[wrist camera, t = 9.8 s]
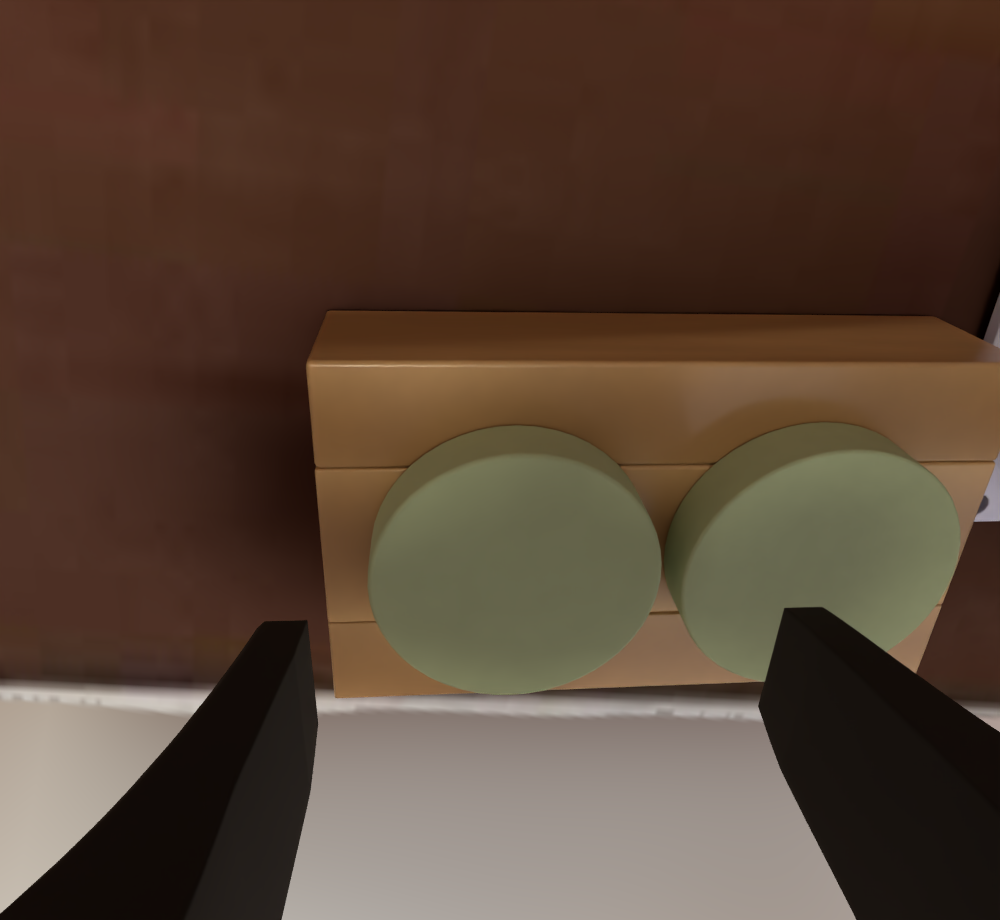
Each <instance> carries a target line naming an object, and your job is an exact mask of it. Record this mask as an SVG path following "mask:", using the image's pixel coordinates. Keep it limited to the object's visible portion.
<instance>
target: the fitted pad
mask: <svg viewBox="0 0 1000 920" xmlns="http://www.w3.org/2000/svg"><path fill="white" fill-rule="evenodd" d="M959 550H960V524H959V518H958V513H957V511H956V508H955V505H954V502H953V500H952V498H951V496H950V494H949V493H948V491H947V489H946V488H945V486H944V485H943V484H942V483H941V482H940V481H939V480H938V478H937V477H936V476H935V475H934V474H932V473H931V472H930V471H929V470H927V469H926V468H925V467H924V466H922V465H921V464H920V463H918V462H917V461H916V460H915V459H913V458H912V457H911V456H910V455H908V454H907V453H906V452H905V451H903V450H902V449H901V448H900V447H898V446H897V445H896V444H894V443H893V442H892V441H891V440H889V439H888V438H886V437H884V436H882V435H880V434H878V433H877V432H874V431H871V430H869V429H866V428H863V427H860V426H855V425H850V424H845V423H830V422H819V423H805V424H800V425H794V426H789V427H785V428H782V429H779V430H775V431H772V432H769V433H767V434H764V435H762V436H760V437H757V438H755V439H753V440H751V441H749V442H747V443H745V444H743V445H742V446H740V447H738V448H736V449H735V450H733V451H732V452H730V453H729V454H727V455H726V456H725V457H723V458H722V459H720V460H719V461H718V462H717V463H716V464H714V465H713V466H712V467H711V468H710V469H709V470H708V471H707V472H705V473H704V475H703V476H702V477H701V478H700V479H699V480H698V481H697V482H696V483H695V484H694V486H693V487H692V488H691V490H690V491H689V492H688V494H687V495H686V497H685V498H684V499H683V501H682V503H681V504H680V506H679V508H678V510H677V512H676V514H675V516H674V518H673V521H672V523H671V526H670V528H669V532H668V536H667V540H666V544H665V552H664V571H665V578H666V582H667V586H668V589H669V591H670V594H671V596H672V598H673V601H674V603H675V605H676V607H677V609H678V611H679V613H680V616H681V618H682V620H683V622H684V624H685V626H686V628H687V630H688V633H689V635H690V636H691V638H692V639H693V641H694V642H695V644H696V645H697V647H698V648H699V649H700V650H701V651H702V652H703V653H704V654H705V655H706V656H707V657H708V658H709V659H711V660H712V661H713V662H715V663H716V664H717V665H719V666H720V667H722V668H724V669H726V670H728V671H729V672H731V673H734V674H737V675H739V676H742V677H744V678H748V679H752V680H757V681H762V682H765V679H766V675H767V671H768V668H769V664H770V660H771V656H772V652H773V649H774V645H775V641H776V637H777V633H778V630H779V626H780V622H781V618H782V615H783V611H784V608H795V607H823V608H825V609H827V610H828V611H830V612H831V613H833V614H834V615H836V616H837V617H839V618H840V619H841V620H843V621H844V622H846V623H847V624H849V625H850V626H851V627H853V628H854V629H856V630H857V631H858V632H860V633H861V634H862V635H864V636H865V637H867V638H868V639H869V640H871V641H872V642H873V643H875V644H876V645H877V646H879V647H880V648H882V649H883V650H884V651H886V652H887V651H889V650H890V649H891V648H893V647H894V646H895V645H897V644H898V643H900V642H901V641H902V640H904V639H905V638H906V637H907V636H908V635H909V634H910V633H912V632H913V631H914V630H915V629H916V628H917V627H918V626H919V625H920V624H921V623H922V622H923V621H924V620H925V619H926V617H927V616H928V615H929V614H930V613H931V611H932V610H933V609H934V607H935V606H936V605H937V603H938V602H939V600H940V599H941V597H942V595H943V594H944V592H945V591H946V589H947V587H948V585H949V582H950V580H951V578H952V576H953V574H954V570H955V567H956V564H957V561H958V556H959Z"/></svg>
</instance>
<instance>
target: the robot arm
mask: <svg viewBox="0 0 1000 920" xmlns="http://www.w3.org/2000/svg"><path fill="white" fill-rule="evenodd" d="M984 341H986V342H988V343H990V344H992V345H994V346H996V347H998V348H1000V293H999V296H998V299H997V302H996V305H995V308H994V311H993V314H992V316H991V319H990V322H989V325H988V328H987V331H986V334H985V337H984ZM993 461H994V462H995V467H994V470H993V473H992V475H991V478H990V481H989V483H988V486H987V488H986V491H985V494H984V496H983V499H982V501H981V504H980V507H979V509H978V512H977V514H976V517H975V520H974V522H976V521H1000V452H999V454H998V457H997V458H996V459H995V460H993ZM758 707H759V710H760V713H761V716H762V719H763V722H764V725H765V727H766V730H767V733H768V736H769V739H770V742H771V745H772V747H773V750H774V753H775V755H776V758H777V761H778V764H779V766H780V769H781V771H782V773H783V775H784V777H785V779H786V781H787V783H788V785H789V787H790V789H791V791H792V793H793V795H794V797H795V799H796V801H797V803H798V805H799V807H800V809H801V811H802V813H803V815H804V817H805V819H806V821H807V823H808V825H809V827H810V829H811V831H812V833H813V835H814V837H815V839H816V841H817V843H818V845H819V847H820V849H821V850H822V853H823V855H824V857H825V859H826V861H827V862H828V864H829V866H830V868H831V870H832V872H833V874H834V876H835V878H836V880H837V882H838V884H839V886H840V888H841V890H842V892H843V894H844V896H845V897H846V900H847V901H848V904H849V905H850V908H851V909H852V911H853V913H854V916H855V918H856V920H1000V732H999V731H997V730H996V729H994V728H993V727H991V726H990V725H988V724H987V723H985V722H984V721H982V720H981V719H979V718H978V717H976V716H975V715H974V714H972V713H971V712H969V711H968V710H966V709H965V708H963V707H962V706H960V705H959V704H958V703H956V702H955V701H953V700H952V699H950V698H949V697H948V696H946V695H945V694H943V693H942V692H941V691H939V690H938V689H936V688H935V687H934V686H932V685H931V684H929V683H928V682H927V681H925V680H924V679H923V678H921V677H920V676H918V675H917V674H916V673H914V672H913V671H912V670H910V669H909V668H907V667H906V666H905V665H903V664H902V663H901V662H899V661H898V660H896V659H895V658H894V657H892V656H891V655H890V654H888V653H887V652H886V651H884V650H883V649H882V648H880V647H879V646H877V645H876V644H875V643H873V642H872V641H871V640H869V639H868V638H867V637H865V636H864V635H862V634H861V633H860V632H858V631H857V630H856V629H854V628H853V627H851V626H850V625H849V624H847V623H846V622H844V621H843V620H841V619H840V618H839V617H837V616H836V615H834V614H833V613H831V612H830V611H828V610H827V609H825V608H823V607H795V608H784V611H783V615H782V618H781V622H780V626H779V630H778V633H777V637H776V641H775V645H774V649H773V652H772V656H771V660H770V664H769V668H768V671H767V675H766V679H765V683H764V687H763V690H762V694H761V698H760V702H759V706H758ZM317 728H318V718H317V708H316V699H315V689H314V680H313V670H312V661H311V651H310V641H309V632H308V622H307V620H303V621H266V622H263V623H262V624H261V625H260V626H259V627H258V628H257V629H256V631H255V632H254V634H253V635H252V637H251V638H250V639H249V641H248V642H247V644H246V645H245V647H244V648H243V650H242V651H241V652H240V654H239V655H238V657H237V658H236V659H235V661H234V662H233V664H232V665H231V666H230V668H229V669H228V670H227V672H226V673H225V674H224V676H223V677H222V678H221V680H220V681H219V682H218V684H217V685H216V686H215V688H214V689H213V690H212V692H211V693H210V694H209V696H208V697H207V698H206V699H205V701H204V702H203V703H202V704H201V706H200V707H199V708H198V709H197V711H196V712H195V713H194V714H193V716H192V717H191V718H190V719H189V721H188V722H187V723H186V725H185V726H184V727H183V728H182V730H181V731H180V732H179V733H178V735H177V736H176V737H175V738H174V739H173V740H172V742H171V743H170V744H169V745H168V746H167V747H166V749H165V750H164V751H163V752H162V753H161V754H160V755H159V757H158V758H157V759H156V760H155V761H154V762H153V763H152V764H151V766H150V767H149V768H148V769H147V770H146V771H145V772H144V773H143V775H142V776H141V777H140V778H139V779H138V780H137V782H136V783H135V784H134V785H133V786H132V787H131V788H130V789H129V790H128V791H127V793H126V794H125V795H124V796H123V797H122V798H121V799H120V800H119V801H118V802H117V803H116V804H115V805H114V807H112V809H110V811H109V812H108V813H107V814H106V815H105V816H104V817H103V818H102V819H101V820H100V821H99V822H98V823H97V824H96V825H95V826H94V827H93V828H92V829H91V830H90V831H89V832H88V833H87V834H86V835H85V836H84V837H83V838H82V839H81V840H80V841H79V842H78V843H77V844H76V845H75V846H74V847H73V848H71V849H70V850H69V852H67V853H66V854H65V855H64V856H63V857H62V858H61V859H60V860H59V861H58V862H57V863H56V864H55V865H54V866H53V867H52V868H50V869H49V870H48V871H47V872H46V873H45V874H44V875H43V876H42V877H40V878H39V879H38V880H37V881H36V882H35V883H34V884H33V885H32V886H31V887H29V888H28V889H27V890H26V891H25V892H24V893H23V894H22V895H21V896H20V897H19V898H17V899H16V900H15V901H14V902H13V903H12V904H11V905H10V906H9V907H7V908H6V909H5V910H4V911H3V912H2V913H0V920H281V919H282V915H283V910H284V906H285V901H286V897H287V893H288V888H289V884H290V880H291V875H292V871H293V867H294V862H295V858H296V853H297V849H298V845H299V840H300V836H301V831H302V826H303V822H304V818H305V813H306V809H307V804H308V799H309V795H310V790H311V782H312V774H313V765H314V757H315V746H316V737H317Z"/></svg>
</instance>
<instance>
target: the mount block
mask: <svg viewBox="0 0 1000 920" xmlns="http://www.w3.org/2000/svg"><path fill="white" fill-rule="evenodd" d="M306 373H307V384H308V395H309V407H310V418H311V429H312V441H313V452H314V463H315V464H316V468H315V480H316V491H317V502H318V513H319V525H320V536H321V547H322V559H323V570H324V581H325V592H326V604H327V615H328V621H329V623H328V626H329V637H330V649H331V660H332V671H333V683H334V694H335V697H336V698H354V697H379V696H405V695H430V694H456V693H475V692H471V691H466V690H462V689H458V688H455V687H452V686H449V685H446V684H443V683H441V682H439V681H436V680H434V679H432V678H430V677H428V676H426V675H425V674H423V673H421V672H420V671H418V670H417V669H415V668H414V667H412V666H411V665H410V664H409V663H407V662H406V661H405V660H404V659H403V658H402V657H401V656H400V655H399V654H398V653H397V652H396V651H395V650H394V649H393V648H392V647H391V645H390V644H389V643H388V641H387V640H386V638H385V637H384V635H383V634H382V632H381V631H380V629H379V627H378V625H377V623H376V620H375V618H374V616H373V612H372V609H371V606H370V602H369V595H368V588H367V584H368V565H369V556H370V548H371V539H372V533H373V528H374V523H375V520H376V517H377V514H378V511H379V509H380V506H381V504H382V503H383V501H384V499H385V497H386V495H387V493H388V492H389V490H390V489H391V487H392V486H393V485H394V483H395V482H396V481H397V479H398V478H399V477H400V476H401V475H402V474H403V473H404V472H405V471H406V470H407V469H408V468H409V467H410V466H411V465H412V464H413V463H414V462H416V461H417V460H418V459H419V458H421V457H422V456H423V455H424V454H426V453H428V452H429V451H431V450H433V449H434V448H436V447H437V446H439V445H441V444H442V443H445V442H447V441H449V440H451V439H454V438H456V437H458V436H461V435H464V434H467V433H470V432H473V431H477V430H481V429H486V428H492V427H497V426H512V425H522V426H537V427H543V428H548V429H554V430H558V431H561V432H564V433H567V434H570V435H573V436H576V437H578V438H580V439H582V440H584V441H586V442H588V443H590V444H592V445H593V446H595V447H597V448H598V449H600V450H601V451H603V452H604V453H605V454H607V455H608V456H609V457H610V458H611V459H612V460H614V461H615V462H616V463H617V464H618V465H619V466H620V468H621V469H622V470H623V471H624V472H625V473H626V475H627V476H628V477H629V479H630V481H631V482H632V484H633V485H634V487H635V489H636V491H637V492H638V494H639V496H640V498H641V500H642V502H643V504H644V506H645V508H646V510H647V512H648V514H649V516H650V518H651V521H652V523H653V525H654V528H655V530H656V533H657V536H658V540H659V544H660V549H661V562H662V566H661V578H660V583H659V588H658V592H657V596H656V599H655V601H654V604H653V606H652V609H651V611H650V613H649V615H648V617H647V618H646V620H645V622H644V624H643V625H642V627H641V628H640V630H639V631H638V632H637V633H636V635H635V636H634V637H633V639H632V640H631V641H630V642H629V643H628V644H627V645H626V646H625V647H624V648H623V649H622V650H621V651H620V652H619V653H618V654H616V655H615V656H614V657H613V658H612V659H610V660H609V661H608V662H606V663H605V664H603V665H602V666H600V667H599V668H597V669H596V670H594V671H592V672H590V673H588V674H587V675H585V676H583V677H581V678H579V679H576V680H574V681H571V682H569V683H566V684H564V685H561V686H558V687H554V688H551V689H547V690H558V689H583V688H609V687H634V686H660V685H685V684H711V683H736V682H762V681H757V680H752V679H748V678H744V677H742V676H739V675H737V674H734V673H731V672H729V671H728V670H726V669H724V668H722V667H720V666H719V665H717V664H716V663H715V662H713V661H712V660H711V659H709V658H708V657H707V656H706V655H705V654H704V653H703V652H702V651H701V650H700V649H699V648H698V647H697V645H696V644H695V642H694V641H693V639H692V638H691V636H690V635H689V633H688V630H687V628H686V626H685V624H684V622H683V620H682V618H681V616H680V613H679V611H678V609H677V607H676V605H675V603H674V601H673V598H672V596H671V594H670V591H669V589H668V586H667V582H666V578H665V571H664V552H665V544H666V540H667V536H668V532H669V528H670V526H671V523H672V521H673V518H674V516H675V514H676V512H677V510H678V508H679V506H680V504H681V503H682V501H683V499H684V498H685V497H686V495H687V494H688V492H689V491H690V490H691V488H692V487H693V486H694V484H695V483H696V482H697V481H698V480H699V479H700V478H701V477H702V476H703V475H704V473H705V472H707V471H708V470H709V469H710V468H711V467H712V466H713V465H714V464H716V463H717V462H718V461H719V460H720V459H722V458H723V457H725V456H726V455H727V454H729V453H730V452H732V451H733V450H735V449H736V448H738V447H740V446H742V445H743V444H745V443H747V442H749V441H751V440H753V439H755V438H757V437H760V436H762V435H764V434H767V433H769V432H772V431H775V430H779V429H782V428H785V427H789V426H794V425H800V424H805V423H819V422H830V423H845V424H850V425H855V426H860V427H863V428H866V429H869V430H871V431H874V432H877V433H878V434H880V435H882V436H884V437H886V438H888V439H889V440H891V441H892V442H893V443H894V444H896V445H897V446H898V447H900V448H901V449H902V450H903V451H905V452H906V453H907V454H908V455H910V456H911V457H912V458H913V459H915V460H916V461H917V462H918V463H920V464H921V465H922V466H924V467H925V468H926V469H927V470H929V471H930V472H931V473H932V474H934V475H935V476H936V477H937V478H938V480H939V481H940V482H941V483H942V484H943V485H944V486H945V488H946V489H947V491H948V493H949V494H950V496H951V498H952V500H953V502H954V505H955V508H956V511H957V513H958V518H959V524H960V550H959V556H958V561H959V559H960V556H961V554H962V551H963V548H964V546H965V543H966V541H967V538H968V535H969V533H970V530H971V528H972V525H973V522H974V520H975V517H976V514H977V512H978V509H979V507H980V504H981V501H982V499H983V496H984V494H985V491H986V488H987V486H988V483H989V481H990V478H991V475H992V473H993V470H994V467H995V462H994V461H993V460H995V459H996V458H997V457H998V454H999V452H1000V348H998V347H996V346H994V345H992V344H990V343H988V342H986V341H984V340H982V339H980V338H977V337H975V336H973V335H971V334H969V333H967V332H965V331H963V330H961V329H959V328H957V327H955V326H953V325H951V324H949V323H946V322H944V321H942V320H940V319H938V318H936V317H934V316H862V315H755V314H648V313H540V312H433V311H328V312H327V313H326V316H325V318H324V321H323V323H322V326H321V328H320V331H319V333H318V335H317V338H316V340H315V343H314V345H313V348H312V350H311V353H310V355H309V358H308V360H307V363H306ZM958 561H957V564H958ZM957 564H956V567H957ZM956 567H955V569H956ZM954 572H955V570H954ZM953 575H954V574H953ZM952 577H953V576H952ZM951 580H952V578H951ZM951 580H950V582H951ZM950 582H949V585H950ZM949 585H948V587H947V589H946V591H945V592H944V594H943V595H942V597H941V599H940V600H939V602H938V603H937V605H936V606H935V607H934V609H933V610H932V611H931V613H930V614H929V615H928V616H927V617H926V619H925V620H924V621H923V622H922V623H921V624H920V625H919V626H918V627H917V628H916V629H915V630H914V631H913V632H912V633H910V634H909V635H908V636H907V637H906V638H905V639H904V640H902V641H901V642H900V643H898V644H897V645H895V646H894V647H893V648H891V649H890V650H889V651H887V653H888V654H890V655H891V656H892V657H894V658H895V659H896V660H898V661H899V662H901V663H902V664H903V665H905V666H906V667H907V668H909V669H910V670H912V671H913V672H914V673H916V671H917V669H918V666H919V664H920V661H921V658H922V656H923V653H924V651H925V648H926V645H927V643H928V640H929V638H930V635H931V632H932V630H933V627H934V625H935V622H936V619H937V617H938V614H939V611H940V609H941V604H942V603H943V601H944V598H945V595H946V593H947V590H948V588H949Z"/></svg>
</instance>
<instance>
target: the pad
mask: <svg viewBox="0 0 1000 920" xmlns="http://www.w3.org/2000/svg"><path fill="white" fill-rule="evenodd" d="M661 566H662V562H661V549H660V544H659V540H658V536H657V533H656V530H655V528H654V525H653V523H652V521H651V518H650V516H649V514H648V512H647V510H646V508H645V506H644V504H643V502H642V500H641V498H640V496H639V494H638V492H637V491H636V489H635V487H634V485H633V484H632V482H631V481H630V479H629V477H628V476H627V475H626V473H625V472H624V471H623V470H622V469H621V468H620V466H619V465H618V464H617V463H616V462H615V461H614V460H612V459H611V458H610V457H609V456H608V455H607V454H605V453H604V452H603V451H601V450H600V449H598V448H597V447H595V446H593V445H592V444H590V443H588V442H586V441H584V440H582V439H580V438H578V437H576V436H573V435H570V434H567V433H564V432H561V431H558V430H554V429H548V428H543V427H537V426H522V425H512V426H497V427H492V428H486V429H481V430H477V431H473V432H470V433H467V434H464V435H461V436H458V437H456V438H454V439H451V440H449V441H447V442H445V443H442V444H441V445H439V446H437V447H436V448H434V449H433V450H431V451H429V452H428V453H426V454H424V455H423V456H422V457H421V458H419V459H418V460H417V461H416V462H414V463H413V464H412V465H411V466H410V467H409V468H408V469H407V470H406V471H405V472H404V473H403V474H402V475H401V476H400V477H399V478H398V479H397V481H396V482H395V483H394V485H393V486H392V487H391V489H390V490H389V492H388V493H387V495H386V497H385V499H384V501H383V503H382V504H381V506H380V509H379V511H378V514H377V517H376V520H375V523H374V528H373V533H372V539H371V548H370V556H369V565H368V584H367V588H368V595H369V602H370V606H371V609H372V612H373V616H374V618H375V620H376V623H377V625H378V627H379V629H380V631H381V632H382V634H383V635H384V637H385V638H386V640H387V641H388V643H389V644H390V645H391V647H392V648H393V649H394V650H395V651H396V652H397V653H398V654H399V655H400V656H401V657H402V658H403V659H404V660H405V661H406V662H407V663H409V664H410V665H411V666H412V667H414V668H415V669H417V670H418V671H420V672H421V673H423V674H425V675H426V676H428V677H430V678H432V679H434V680H436V681H439V682H441V683H443V684H446V685H449V686H452V687H455V688H458V689H462V690H466V691H471V692H475V693H484V694H493V695H513V694H525V693H532V692H537V691H543V690H547V689H551V688H554V687H558V686H561V685H564V684H566V683H569V682H571V681H574V680H576V679H579V678H581V677H583V676H585V675H587V674H588V673H590V672H592V671H594V670H596V669H597V668H599V667H600V666H602V665H603V664H605V663H606V662H608V661H609V660H610V659H612V658H613V657H614V656H615V655H616V654H618V653H619V652H620V651H621V650H622V649H623V648H624V647H625V646H626V645H627V644H628V643H629V642H630V641H631V640H632V639H633V637H634V636H635V635H636V633H637V632H638V631H639V630H640V628H641V627H642V625H643V624H644V622H645V620H646V618H647V617H648V615H649V613H650V611H651V609H652V606H653V604H654V601H655V599H656V596H657V592H658V588H659V583H660V578H661Z"/></svg>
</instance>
